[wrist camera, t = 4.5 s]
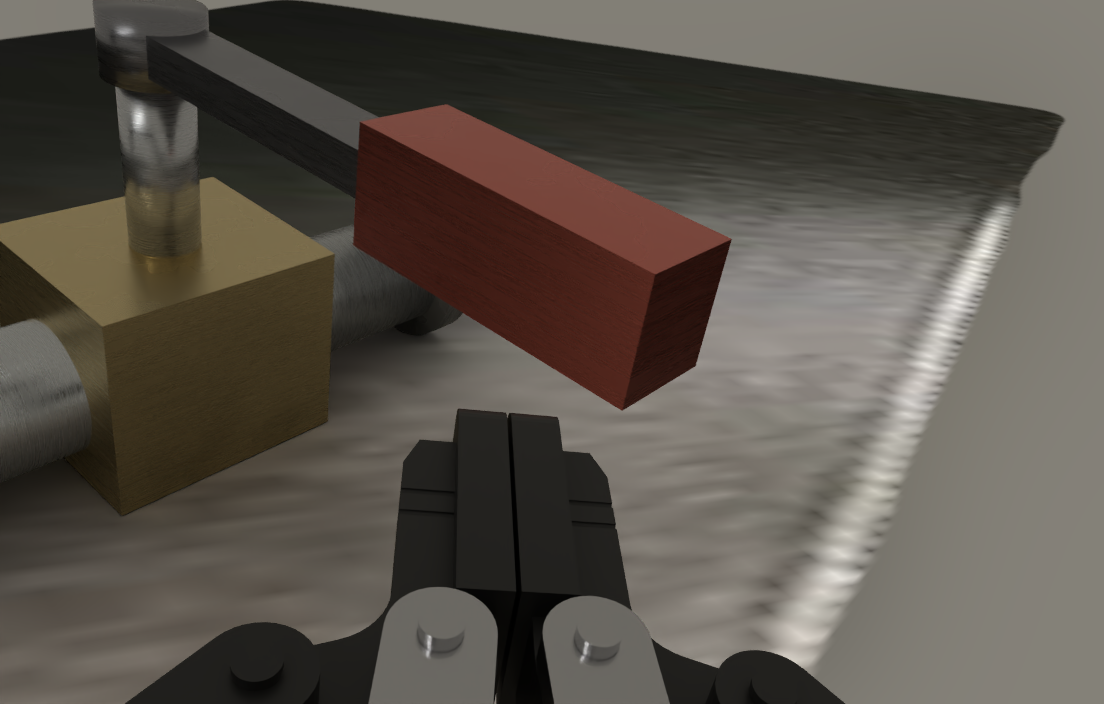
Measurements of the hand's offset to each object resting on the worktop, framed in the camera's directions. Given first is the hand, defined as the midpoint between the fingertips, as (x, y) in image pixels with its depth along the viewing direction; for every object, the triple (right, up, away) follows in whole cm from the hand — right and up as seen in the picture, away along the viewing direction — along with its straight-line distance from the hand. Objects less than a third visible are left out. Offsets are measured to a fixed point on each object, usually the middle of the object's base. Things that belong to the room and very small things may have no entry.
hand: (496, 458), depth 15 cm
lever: (-4, +5, +10) cm, 12 cm away
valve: (-13, -1, +20) cm, 24 cm away
